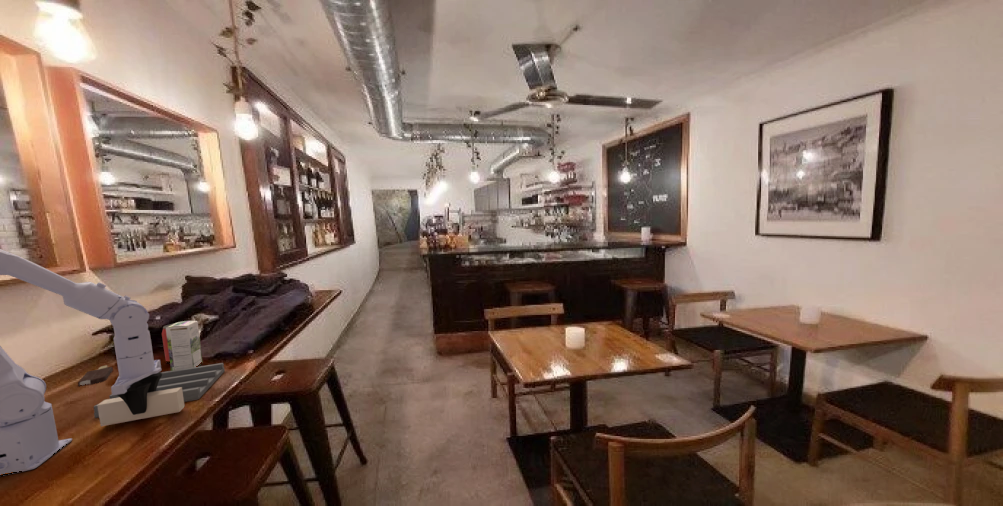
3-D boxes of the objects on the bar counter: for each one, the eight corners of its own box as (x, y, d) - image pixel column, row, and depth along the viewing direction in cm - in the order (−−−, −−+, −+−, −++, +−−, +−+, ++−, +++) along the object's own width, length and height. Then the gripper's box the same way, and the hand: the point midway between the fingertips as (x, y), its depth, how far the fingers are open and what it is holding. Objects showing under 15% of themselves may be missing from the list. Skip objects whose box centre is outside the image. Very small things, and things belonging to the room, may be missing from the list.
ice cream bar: (92, 371, 112) (77, 388, 100) (91, 366, 111) (76, 383, 100) (116, 366, 115) (105, 382, 103) (115, 361, 115) (104, 377, 103)
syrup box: (181, 366, 112) (175, 322, 111) (203, 363, 114) (197, 319, 112) (171, 373, 107) (164, 327, 105) (194, 370, 109) (188, 324, 107)
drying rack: (198, 399, 91) (197, 389, 90) (94, 417, 83) (92, 407, 83) (224, 371, 107) (223, 362, 107) (139, 384, 100) (138, 375, 100)
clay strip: (184, 406, 86) (181, 387, 85) (179, 411, 83) (176, 391, 83) (108, 420, 81) (104, 399, 80) (100, 426, 78) (97, 405, 78)
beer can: (187, 361, 116) (182, 326, 114) (161, 365, 113) (156, 329, 112) (196, 354, 122) (191, 320, 121) (171, 357, 119) (166, 323, 118)
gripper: (138, 362, 75) (147, 422, 77) (172, 340, 89) (180, 391, 90) (94, 368, 73) (104, 430, 74) (136, 345, 86) (144, 397, 88)
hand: (143, 409), depth 82 cm, fingers closed on clay strip, 2 cm apart
